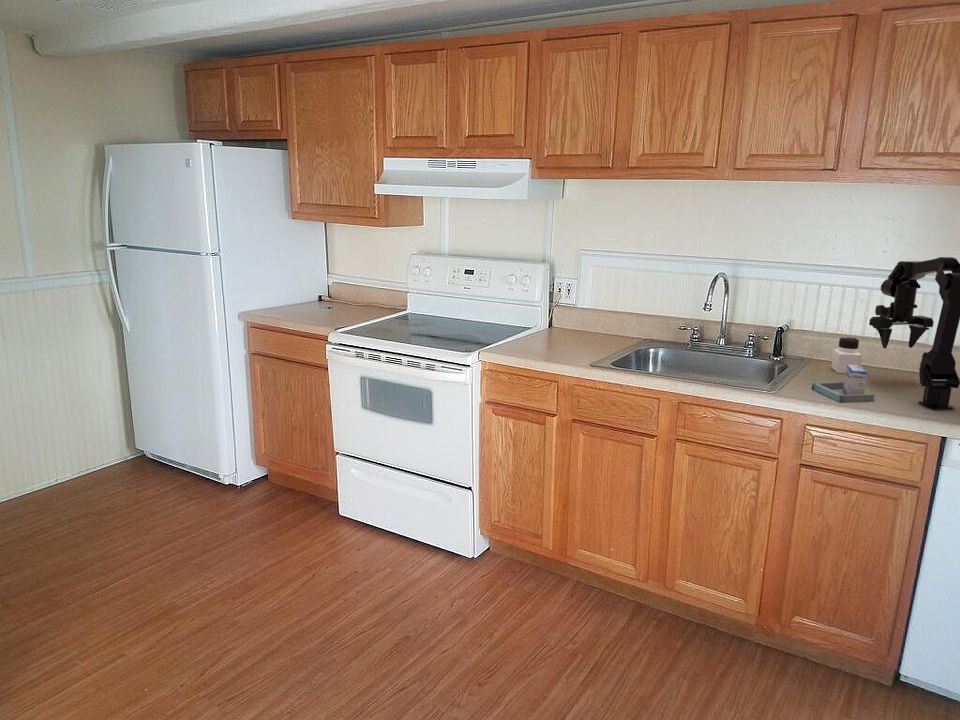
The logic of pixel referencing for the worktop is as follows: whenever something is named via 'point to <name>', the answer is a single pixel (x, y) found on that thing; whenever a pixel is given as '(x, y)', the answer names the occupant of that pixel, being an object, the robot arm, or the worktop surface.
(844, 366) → the medicine bottle
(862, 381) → the medicine box
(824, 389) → the frame
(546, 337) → the worktop surface
